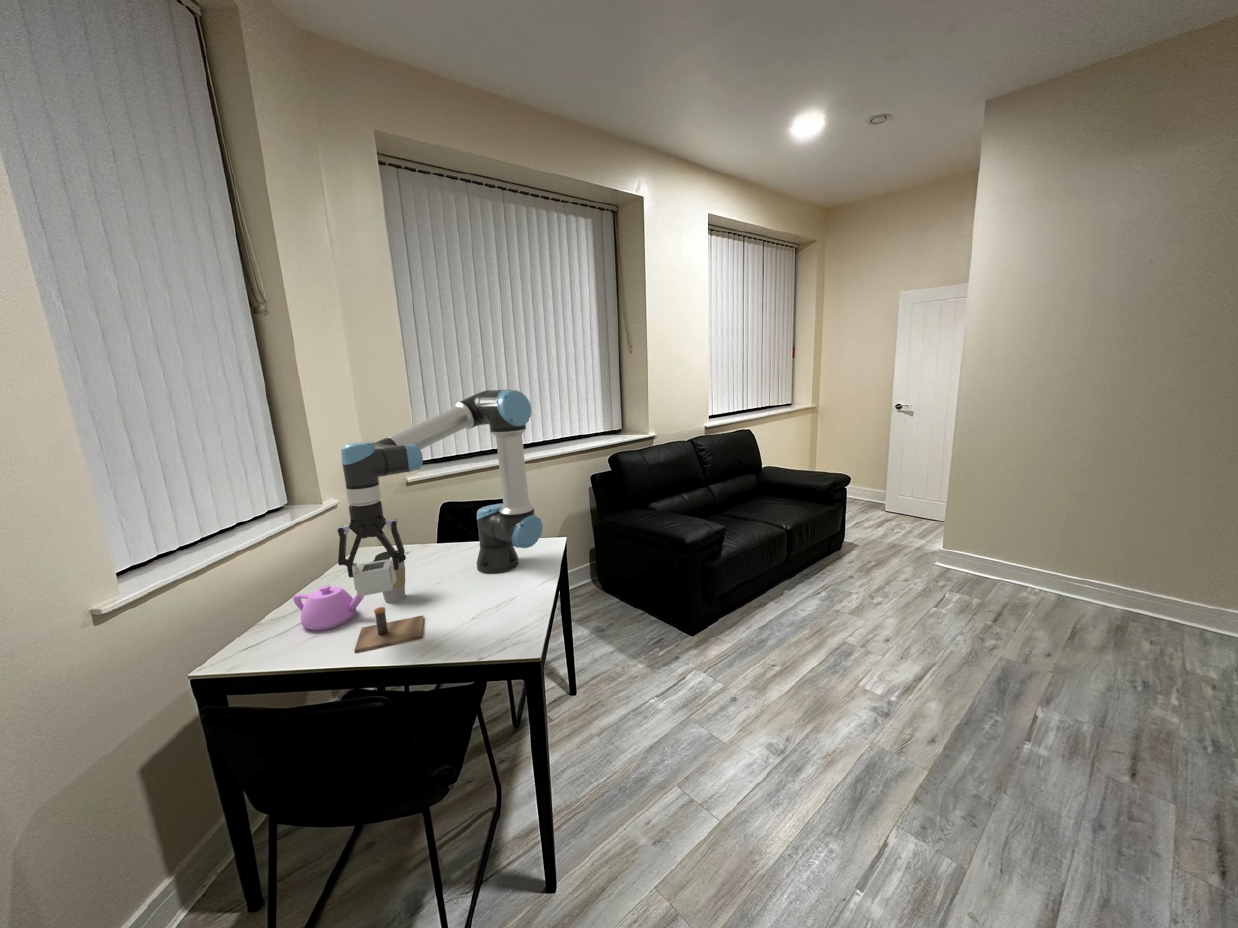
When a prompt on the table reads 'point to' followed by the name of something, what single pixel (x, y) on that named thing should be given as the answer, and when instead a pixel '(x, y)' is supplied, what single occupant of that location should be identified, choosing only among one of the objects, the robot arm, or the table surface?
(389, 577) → the hollow square block
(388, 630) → the keeper
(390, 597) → the coffee cup
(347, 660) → the table surface
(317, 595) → the teapot
